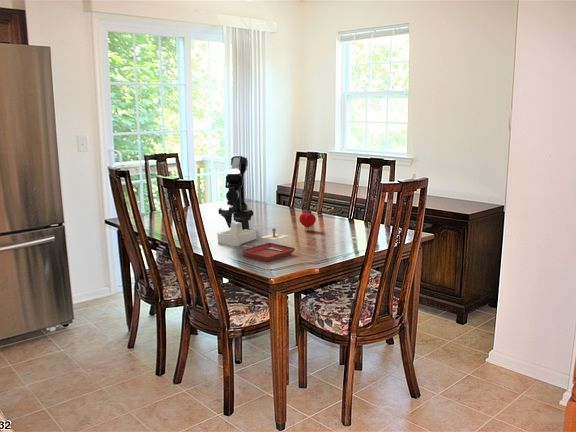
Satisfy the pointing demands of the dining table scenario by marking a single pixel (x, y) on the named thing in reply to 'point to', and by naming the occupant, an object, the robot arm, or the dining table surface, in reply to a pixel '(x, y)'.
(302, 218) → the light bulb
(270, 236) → the stud base
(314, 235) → the dining table surface
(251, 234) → the grey bin
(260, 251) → the plant saucer
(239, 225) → the strut
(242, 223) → the robot arm
